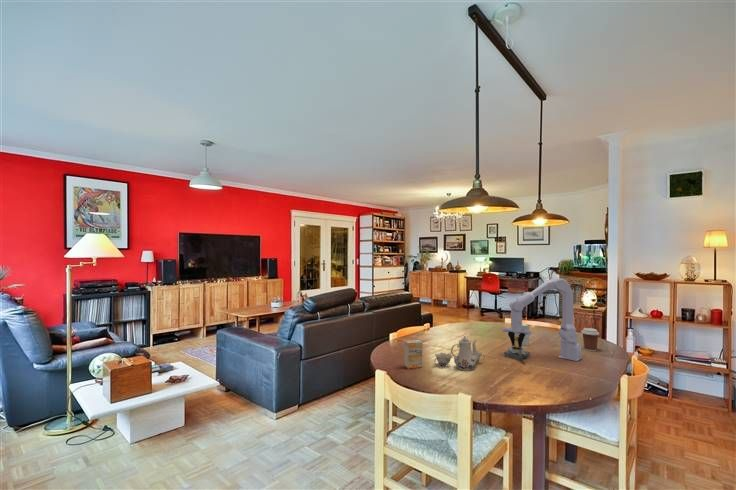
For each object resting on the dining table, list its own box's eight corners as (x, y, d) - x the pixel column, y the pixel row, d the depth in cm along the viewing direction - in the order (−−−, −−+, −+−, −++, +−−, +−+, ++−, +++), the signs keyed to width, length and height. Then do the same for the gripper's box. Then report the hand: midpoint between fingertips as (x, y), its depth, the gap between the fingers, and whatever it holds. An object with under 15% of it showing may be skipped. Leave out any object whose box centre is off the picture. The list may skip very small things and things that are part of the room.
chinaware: (475, 361, 197) (472, 330, 198) (495, 367, 181) (493, 334, 183) (430, 368, 187) (428, 335, 189) (448, 375, 171) (446, 339, 173)
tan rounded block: (521, 352, 201) (521, 335, 201) (518, 354, 197) (518, 337, 197) (515, 351, 203) (515, 335, 203) (512, 353, 199) (512, 336, 199)
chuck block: (529, 356, 200) (529, 352, 200) (522, 360, 193) (522, 355, 193) (512, 352, 207) (512, 348, 207) (504, 356, 200) (504, 352, 200)
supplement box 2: (525, 342, 228) (525, 322, 228) (529, 345, 221) (529, 325, 221) (513, 342, 229) (513, 322, 229) (517, 345, 222) (516, 325, 222)
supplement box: (407, 369, 180) (407, 342, 181) (404, 366, 185) (404, 340, 185) (422, 367, 183) (422, 341, 183) (419, 364, 187) (418, 339, 187)
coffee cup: (596, 348, 215) (596, 328, 215) (602, 352, 206) (601, 331, 206) (579, 347, 217) (579, 327, 217) (584, 351, 209) (583, 330, 209)
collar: (532, 359, 186) (532, 355, 186) (517, 359, 187) (517, 354, 187) (521, 350, 203) (521, 346, 203) (508, 349, 204) (508, 345, 204)
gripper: (532, 322, 199) (532, 346, 199) (505, 319, 208) (505, 342, 207) (529, 324, 193) (529, 349, 193) (501, 321, 202) (501, 345, 202)
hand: (516, 346), depth 200 cm, fingers closed on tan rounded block, 3 cm apart
